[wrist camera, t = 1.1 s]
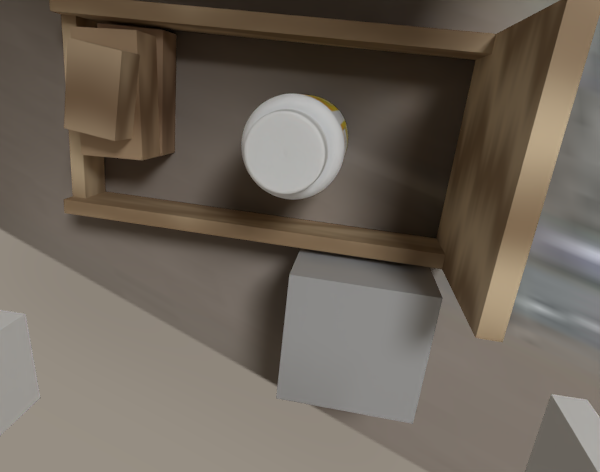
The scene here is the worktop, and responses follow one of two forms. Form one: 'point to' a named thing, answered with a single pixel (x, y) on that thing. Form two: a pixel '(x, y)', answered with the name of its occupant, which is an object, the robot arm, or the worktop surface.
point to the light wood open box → (467, 161)
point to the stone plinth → (357, 334)
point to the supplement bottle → (294, 145)
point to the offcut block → (100, 90)
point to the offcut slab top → (146, 104)
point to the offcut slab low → (162, 82)
